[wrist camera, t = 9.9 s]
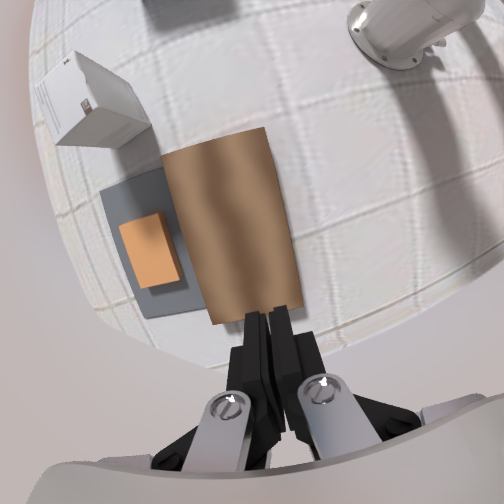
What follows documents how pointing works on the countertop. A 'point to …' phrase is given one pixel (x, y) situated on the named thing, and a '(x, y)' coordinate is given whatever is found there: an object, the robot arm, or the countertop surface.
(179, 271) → the tan foam pad
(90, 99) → the skincare box
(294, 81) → the countertop surface
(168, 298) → the mat
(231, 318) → the brown wooden block
